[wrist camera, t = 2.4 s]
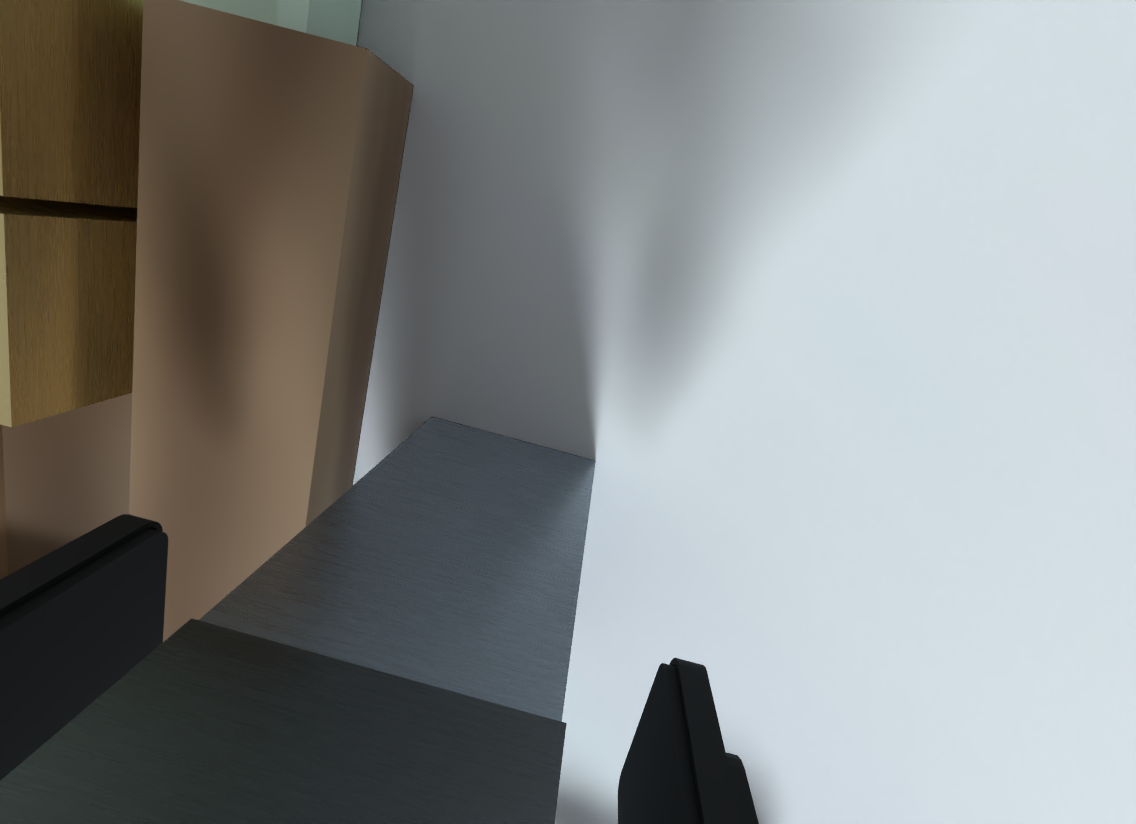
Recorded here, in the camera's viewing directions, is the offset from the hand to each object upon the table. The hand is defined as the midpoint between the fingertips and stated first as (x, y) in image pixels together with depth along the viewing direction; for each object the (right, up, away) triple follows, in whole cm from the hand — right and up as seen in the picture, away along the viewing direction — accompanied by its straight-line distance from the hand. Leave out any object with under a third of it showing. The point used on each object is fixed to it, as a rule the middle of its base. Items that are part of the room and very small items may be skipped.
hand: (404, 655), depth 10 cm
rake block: (+1, +1, +5) cm, 5 cm away
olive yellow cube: (-9, +8, +4) cm, 12 cm away
